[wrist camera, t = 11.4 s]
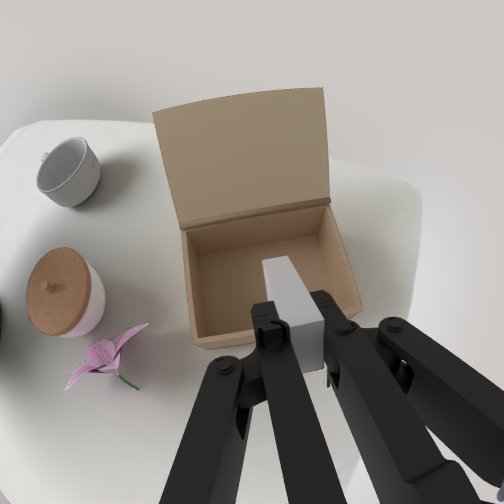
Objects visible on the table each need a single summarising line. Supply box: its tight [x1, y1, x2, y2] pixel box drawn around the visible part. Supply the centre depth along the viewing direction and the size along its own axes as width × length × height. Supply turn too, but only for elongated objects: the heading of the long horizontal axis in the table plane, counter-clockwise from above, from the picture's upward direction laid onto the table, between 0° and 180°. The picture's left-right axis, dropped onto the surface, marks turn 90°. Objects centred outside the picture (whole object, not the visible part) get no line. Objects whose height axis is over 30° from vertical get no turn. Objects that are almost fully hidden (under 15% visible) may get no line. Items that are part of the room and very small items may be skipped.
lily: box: [64, 323, 150, 392], centre depth 27 cm, size 12×12×10 cm
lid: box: [152, 87, 331, 229], centre depth 26 cm, size 12×16×1 cm
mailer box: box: [181, 204, 363, 350], centre depth 30 cm, size 12×16×7 cm
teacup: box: [36, 137, 101, 207], centre depth 38 cm, size 14×11×8 cm
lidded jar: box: [26, 248, 106, 338], centre depth 29 cm, size 11×11×9 cm
